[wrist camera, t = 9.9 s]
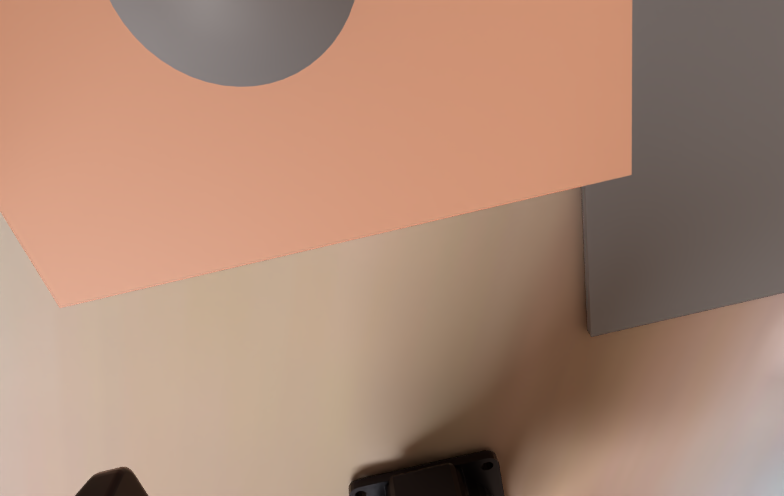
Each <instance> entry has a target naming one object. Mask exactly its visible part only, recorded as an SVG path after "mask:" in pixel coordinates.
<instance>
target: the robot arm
mask: <svg viewBox="0 0 784 496" xmlns="http://www.w3.org/2000/svg"><path fill="white" fill-rule="evenodd" d="M75 496H148V494H147V493H146V491H145V490H144V488H143V487H142V485H141V484H140V482H139V480H138V479H137V477H136V476H135V474H134V473H133V472H132V470H131V469H129V468H127V467H119V468H115V469H111V470H107V471H102V472H99V473H97V474H95V475H93V476H92V477H91V478H90V479H89V480H88V481H87V483H86V484H85V485H84V486H83V487H82V488H81V489H80V491H79V492H78V493H77V494H76V495H75ZM349 496H504V492H503V486H502V479H501V473H500V467H499V462H498V459H497V456H496V454H495V453H494V452H492V451H481V452H477V453H473V454H468V455H464V456H459V457H455V458H451V459H446V460H442V461H438V462H433V463H429V464H424V465H420V466H416V467H411V468H407V469H402V470H398V471H394V472H389V473H385V474H381V475H376V476H372V477H367V478H363V479H359V480H356V481H353V482H352V483H351V484H350V485H349Z"/></svg>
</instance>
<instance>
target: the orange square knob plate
mask: <svg viewBox="0 0 784 496" xmlns="http://www.w3.org/2000/svg"><path fill="white" fill-rule="evenodd" d="M629 175H632V0H0V212H1V213H2V215H3V216H4V218H5V220H6V221H7V223H8V225H9V226H10V228H11V229H12V231H13V233H14V234H15V236H16V238H17V239H18V241H19V242H20V244H21V246H22V247H23V249H24V251H25V252H26V254H27V255H28V257H29V259H30V260H31V262H32V264H33V265H34V267H35V268H36V270H37V272H38V273H39V275H40V277H41V278H42V280H43V281H44V283H45V285H46V286H47V288H48V290H49V291H50V293H51V294H52V296H53V298H54V299H55V301H56V303H57V304H58V306H59V307H60V308H62V307H67V306H71V305H75V304H80V303H84V302H88V301H92V300H97V299H101V298H105V297H110V296H114V295H118V294H122V293H127V292H131V291H135V290H140V289H144V288H148V287H153V286H157V285H161V284H165V283H170V282H174V281H178V280H183V279H187V278H191V277H195V276H200V275H204V274H208V273H213V272H217V271H221V270H225V269H230V268H234V267H238V266H243V265H247V264H251V263H256V262H260V261H264V260H268V259H273V258H277V257H281V256H286V255H290V254H294V253H298V252H303V251H307V250H311V249H316V248H320V247H324V246H328V245H333V244H337V243H341V242H346V241H350V240H354V239H358V238H363V237H367V236H371V235H376V234H380V233H384V232H389V231H393V230H397V229H401V228H406V227H410V226H414V225H419V224H423V223H427V222H431V221H436V220H440V219H444V218H449V217H453V216H457V215H461V214H466V213H470V212H474V211H479V210H483V209H487V208H492V207H496V206H500V205H504V204H509V203H513V202H517V201H522V200H526V199H530V198H534V197H539V196H543V195H547V194H552V193H556V192H560V191H564V190H569V189H573V188H577V187H582V186H586V185H590V184H594V183H599V182H603V181H607V180H612V179H616V178H620V177H625V176H629Z"/></svg>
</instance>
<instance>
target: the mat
mask: <svg viewBox="0 0 784 496" xmlns="http://www.w3.org/2000/svg"><path fill="white" fill-rule="evenodd" d="M581 188H582V212H583V236H584V260H585V284H586V307H587V330H588V332H589V334H590V336H591V337H593V336H598V335H602V334H606V333H611V332H615V331H620V330H624V329H628V328H633V327H637V326H641V325H646V324H650V323H654V322H659V321H663V320H667V319H672V318H676V317H681V316H685V315H689V314H694V313H698V312H702V311H707V310H711V309H715V308H720V307H724V306H728V305H733V304H737V303H742V302H746V301H750V300H755V299H759V298H763V297H768V296H772V295H776V294H781V293H784V0H632V175H629V176H625V177H620V178H616V179H612V180H607V181H603V182H599V183H594V184H590V185H586V186H582V187H581Z"/></svg>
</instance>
